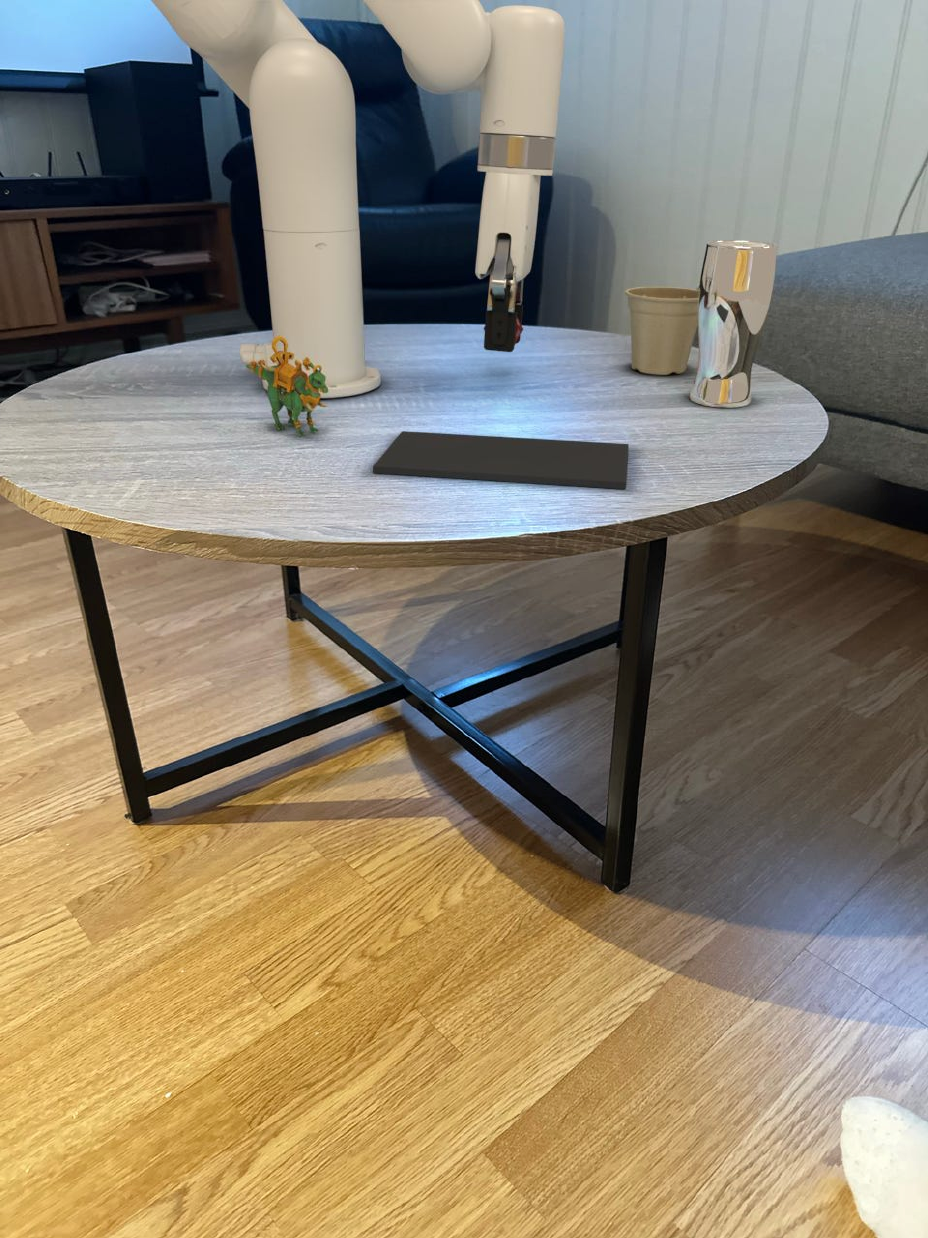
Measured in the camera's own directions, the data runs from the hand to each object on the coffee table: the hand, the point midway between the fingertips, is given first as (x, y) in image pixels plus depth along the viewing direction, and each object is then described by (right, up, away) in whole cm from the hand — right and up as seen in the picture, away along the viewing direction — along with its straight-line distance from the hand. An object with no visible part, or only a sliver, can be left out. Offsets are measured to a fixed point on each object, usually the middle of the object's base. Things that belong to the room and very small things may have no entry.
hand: (502, 344), depth 98 cm
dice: (0, -1, 0) cm, 1 cm away
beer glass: (+22, -7, -5) cm, 24 cm away
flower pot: (+19, -1, +7) cm, 20 cm away
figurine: (-20, -12, -14) cm, 28 cm away
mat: (-1, -17, -23) cm, 28 cm away
